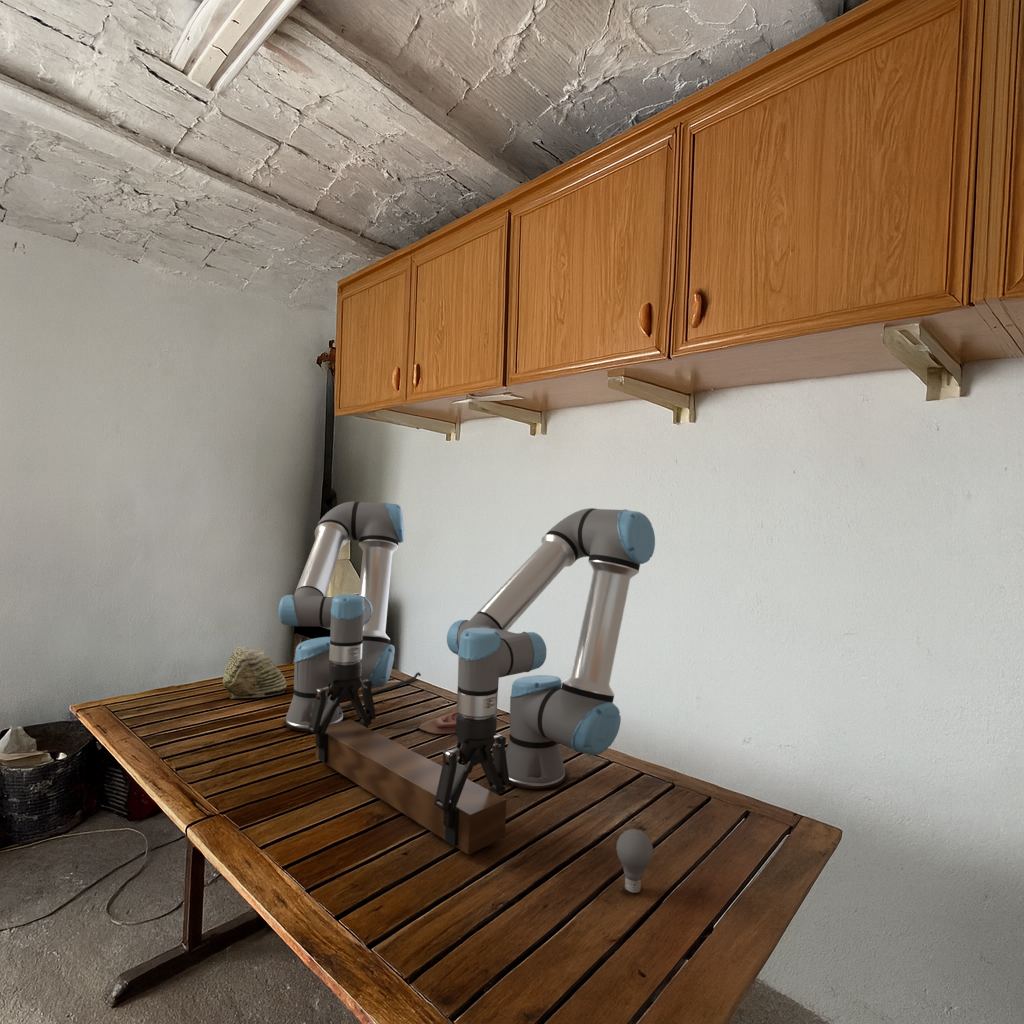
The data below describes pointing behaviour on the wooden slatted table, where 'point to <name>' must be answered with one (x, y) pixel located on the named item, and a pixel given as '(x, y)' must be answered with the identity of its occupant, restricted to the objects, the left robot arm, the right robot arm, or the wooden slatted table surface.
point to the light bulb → (634, 857)
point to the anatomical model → (441, 724)
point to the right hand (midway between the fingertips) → (471, 833)
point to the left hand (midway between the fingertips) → (341, 755)
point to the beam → (413, 784)
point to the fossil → (252, 674)
